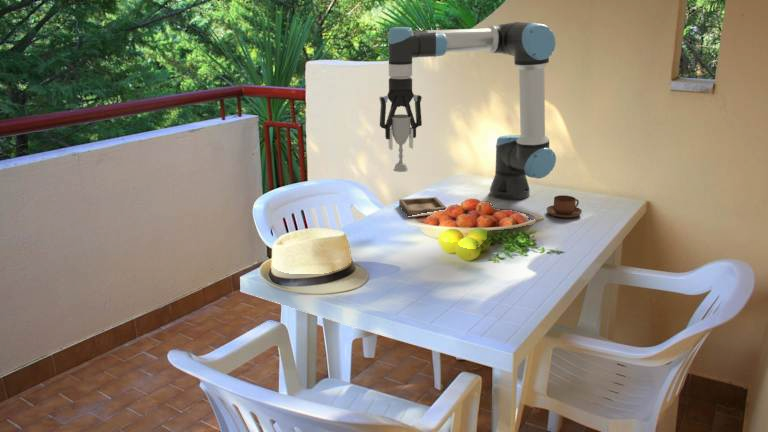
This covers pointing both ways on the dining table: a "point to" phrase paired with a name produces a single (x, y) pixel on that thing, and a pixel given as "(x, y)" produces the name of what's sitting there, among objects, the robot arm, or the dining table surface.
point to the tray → (421, 205)
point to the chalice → (400, 137)
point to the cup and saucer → (564, 207)
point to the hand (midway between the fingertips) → (400, 148)
